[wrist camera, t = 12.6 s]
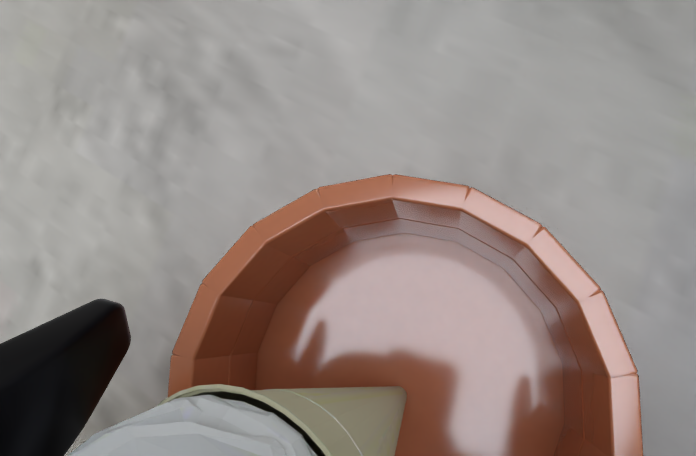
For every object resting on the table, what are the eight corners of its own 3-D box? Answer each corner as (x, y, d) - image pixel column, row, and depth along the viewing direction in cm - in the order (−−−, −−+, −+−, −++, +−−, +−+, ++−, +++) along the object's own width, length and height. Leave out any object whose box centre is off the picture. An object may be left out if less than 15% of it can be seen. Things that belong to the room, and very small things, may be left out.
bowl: (555, 614, 16) (609, 751, 10) (208, 512, 18) (113, 586, 12) (606, 251, 17) (675, 217, 12) (280, 195, 19) (221, 146, 14)
